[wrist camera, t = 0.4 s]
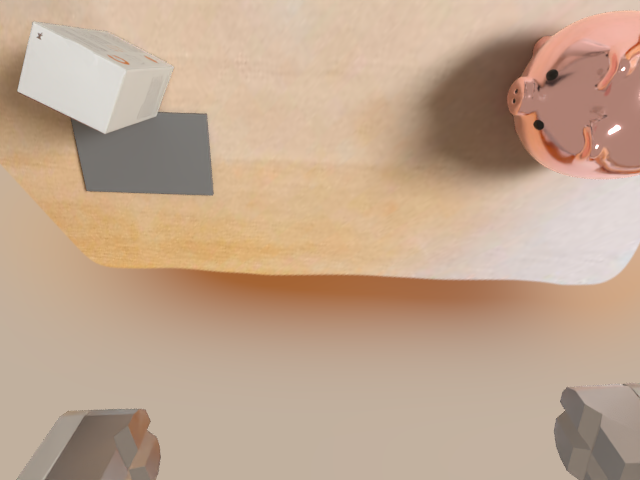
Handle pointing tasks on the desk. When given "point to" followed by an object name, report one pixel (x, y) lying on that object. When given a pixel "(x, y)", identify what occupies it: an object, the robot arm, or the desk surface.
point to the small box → (92, 76)
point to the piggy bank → (583, 98)
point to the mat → (148, 156)
